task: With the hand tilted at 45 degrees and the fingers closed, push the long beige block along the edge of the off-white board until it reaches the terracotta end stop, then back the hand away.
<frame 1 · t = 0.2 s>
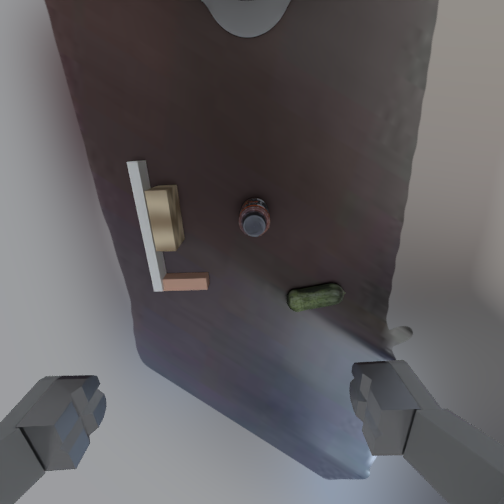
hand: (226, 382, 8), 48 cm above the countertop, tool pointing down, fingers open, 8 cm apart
vegetable: (313, 291, 63), on the countertop
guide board: (153, 227, 56), on the countertop
long beige block: (171, 213, 55), on the countertop
supplement bottle: (254, 210, 55), on the countertop
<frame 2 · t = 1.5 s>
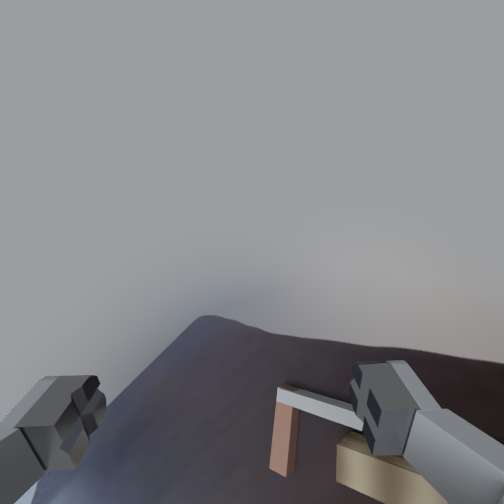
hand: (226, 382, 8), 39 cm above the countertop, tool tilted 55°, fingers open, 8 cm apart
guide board: (373, 418, 37), on the countertop
long beige block: (396, 462, 34), on the countertop
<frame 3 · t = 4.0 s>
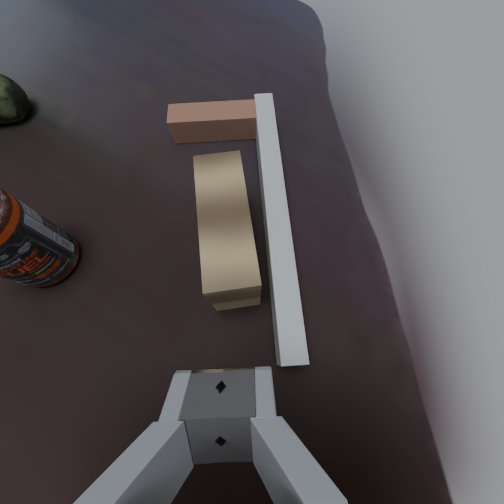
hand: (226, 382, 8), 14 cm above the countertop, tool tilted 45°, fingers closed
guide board: (272, 219, 27), on the countertop
long beige block: (231, 249, 26), on the countertop
supplement bottle: (54, 260, 26), on the countertop
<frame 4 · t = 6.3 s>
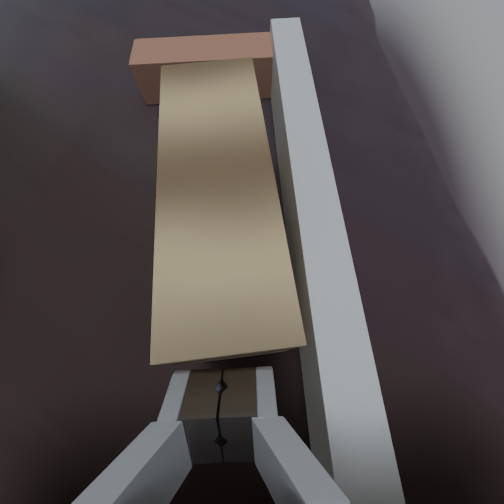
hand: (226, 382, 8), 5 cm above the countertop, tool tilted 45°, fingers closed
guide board: (301, 223, 16), on the countertop
long beige block: (232, 249, 15), on the countertop, touching gripper
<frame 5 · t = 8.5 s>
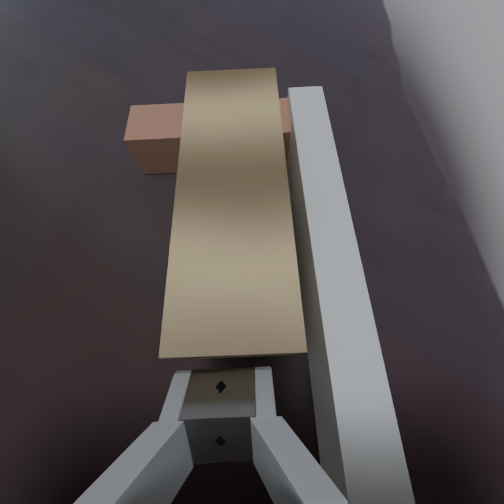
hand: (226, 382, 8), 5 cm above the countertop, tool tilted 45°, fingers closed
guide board: (324, 338, 13), on the countertop
long beige block: (242, 251, 16), on the countertop
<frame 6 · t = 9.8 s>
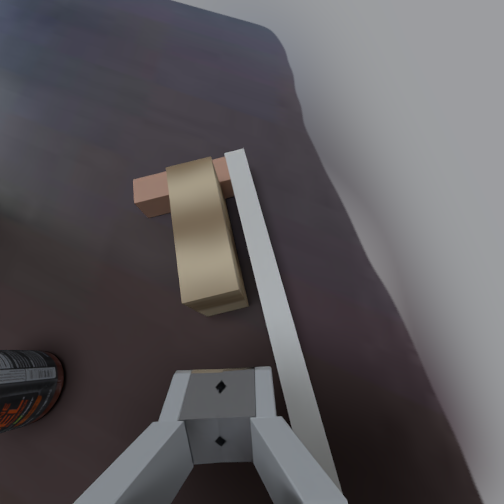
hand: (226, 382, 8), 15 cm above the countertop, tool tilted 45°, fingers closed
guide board: (270, 292, 24), on the countertop
long beige block: (217, 254, 26), on the countertop
supplement bottle: (37, 385, 23), on the countertop
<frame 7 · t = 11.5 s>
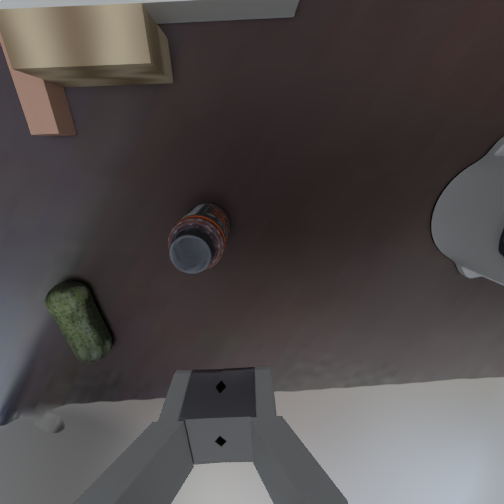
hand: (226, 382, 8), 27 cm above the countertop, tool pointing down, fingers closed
vegetable: (92, 313, 40), on the countertop
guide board: (156, 11, 26), on the countertop
long beige block: (115, 63, 28), on the countertop
supplement bottle: (209, 223, 34), on the countertop
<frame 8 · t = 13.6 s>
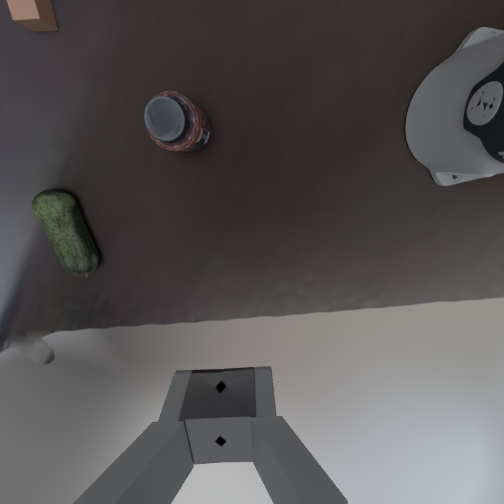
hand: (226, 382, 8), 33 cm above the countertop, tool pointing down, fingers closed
vegetable: (79, 230, 41), on the countertop
supplement bottle: (190, 129, 35), on the countertop
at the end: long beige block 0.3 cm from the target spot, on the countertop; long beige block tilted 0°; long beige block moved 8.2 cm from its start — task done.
